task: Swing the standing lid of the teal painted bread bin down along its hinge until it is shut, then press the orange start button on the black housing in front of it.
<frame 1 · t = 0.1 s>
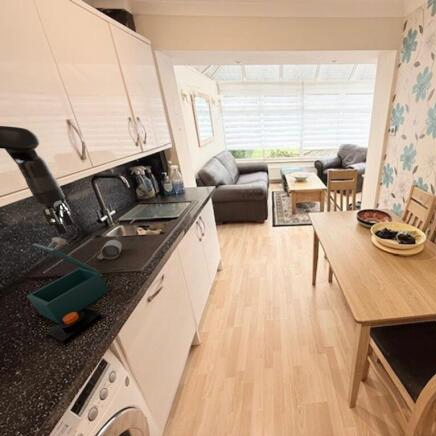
hand: (67, 228, 90), 26 cm above the countertop, tool pointing down, fingers open, 8 cm apart
bin lid: (72, 253, 88), point 18 cm above the countertop, hinge at 62.0°
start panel: (76, 326, 80), on the countertop
start button: (71, 318, 78), point 4 cm above the countertop, slide at 0.1 cm
ceramic mug: (111, 256, 120), on the countertop
bread bin: (76, 302, 91), on the countertop
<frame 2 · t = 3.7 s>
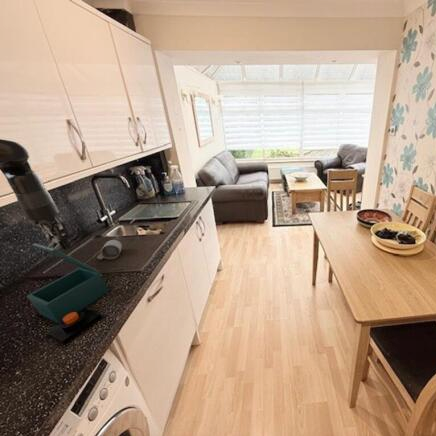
hand: (62, 247, 85), 22 cm above the countertop, tool pointing down, fingers closed on bin lid, 5 cm apart
bin lid: (72, 253, 88), point 18 cm above the countertop, hinge at 62.0°, touching gripper
everything else where it was.
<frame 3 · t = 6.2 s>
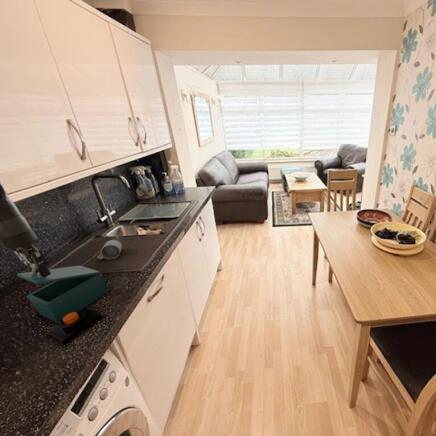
hand: (42, 274, 81), 16 cm above the countertop, tool pointing down, fingers closed on bin lid, 5 cm apart
bin lid: (61, 267, 86), point 15 cm above the countertop, hinge at 26.7°, touching gripper
everything else where it was.
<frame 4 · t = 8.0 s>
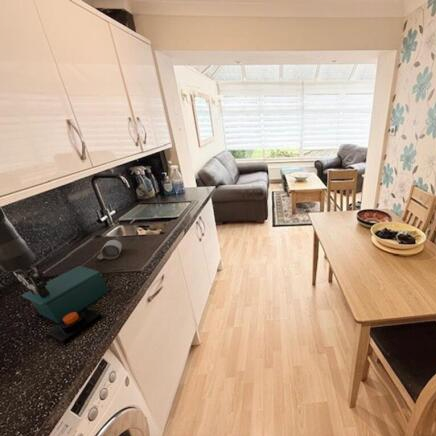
hand: (41, 293, 81), 10 cm above the countertop, tool pointing down, fingers closed on bin lid, 5 cm apart
bin lid: (60, 278, 86), point 12 cm above the countertop, hinge at 1.2°, touching gripper
everything else where it was.
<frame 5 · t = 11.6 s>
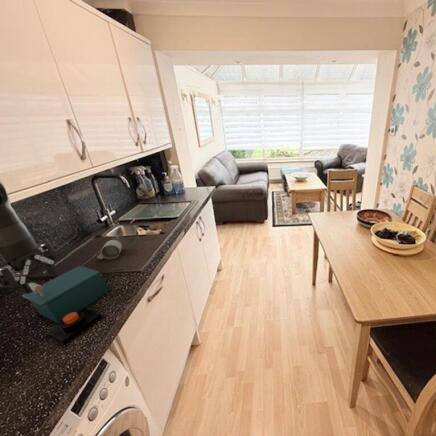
hand: (41, 283, 75), 17 cm above the countertop, tool pointing down, fingers open, 8 cm apart
bin lid: (60, 278, 86), point 12 cm above the countertop, hinge at 0.8°
everything else where it was.
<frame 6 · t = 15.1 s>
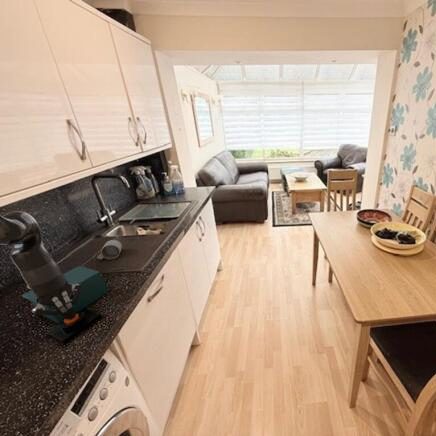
hand: (71, 317, 78), 4 cm above the countertop, tool pointing down, fingers closed
start button: (72, 319, 79), point 3 cm above the countertop, slide at -0.6 cm, touching gripper
everything else where it was.
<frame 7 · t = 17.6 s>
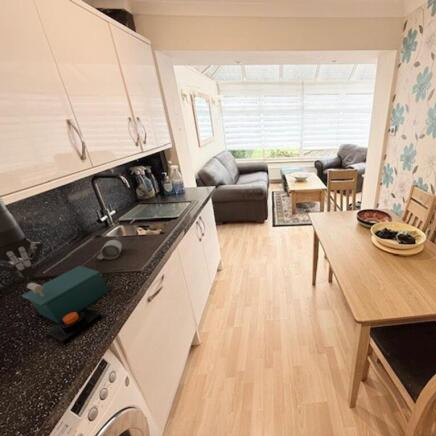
hand: (30, 277, 74), 20 cm above the countertop, tool pointing down, fingers closed
start button: (71, 318, 78), point 4 cm above the countertop, slide at 0.1 cm
everything else where it was.
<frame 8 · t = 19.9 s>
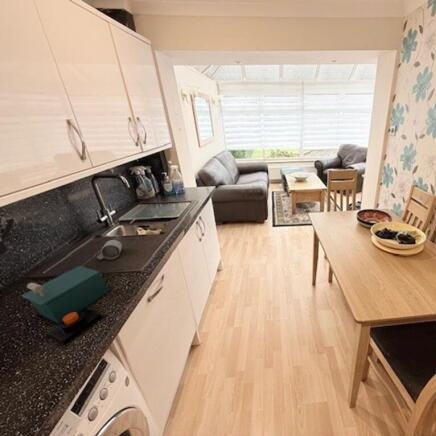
hand: (1, 253, 74), 27 cm above the countertop, tool pointing down, fingers closed
nothing on the countertop moved.
at the end: bin lid at +1° (first picture: +62°); start button pushed in 1.1 cm at the most during the clip, back to where it started at the end; start button slide at 0.1 cm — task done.
